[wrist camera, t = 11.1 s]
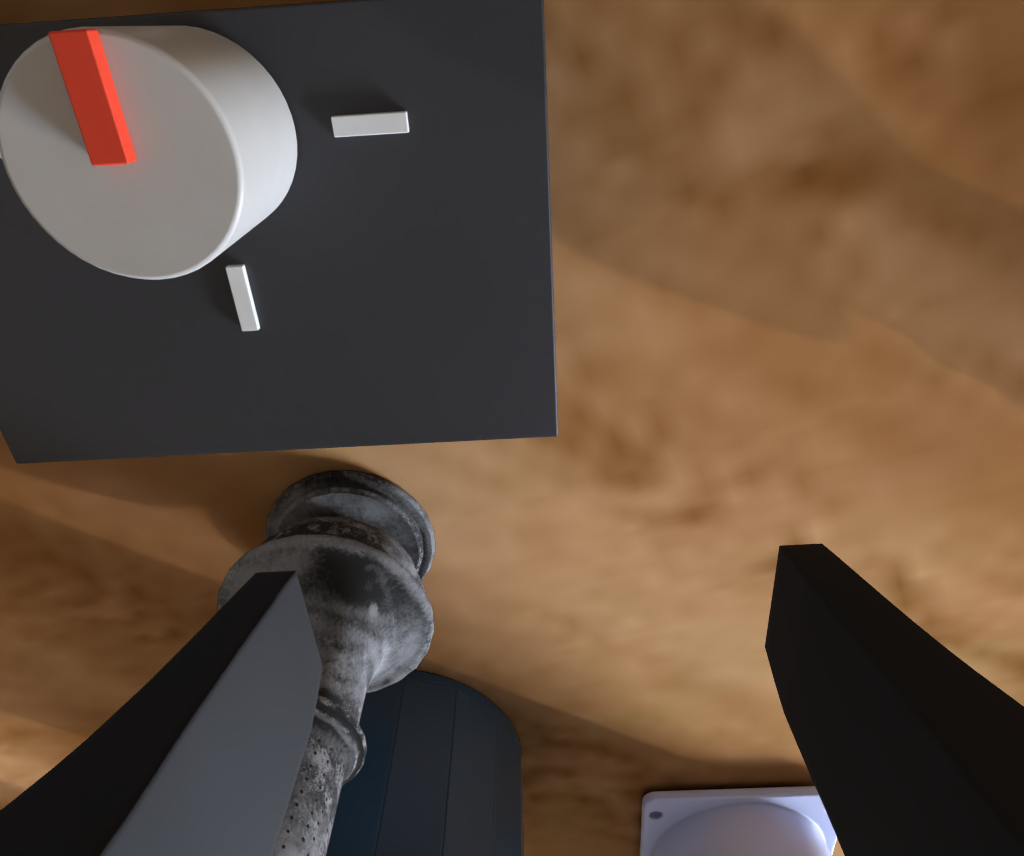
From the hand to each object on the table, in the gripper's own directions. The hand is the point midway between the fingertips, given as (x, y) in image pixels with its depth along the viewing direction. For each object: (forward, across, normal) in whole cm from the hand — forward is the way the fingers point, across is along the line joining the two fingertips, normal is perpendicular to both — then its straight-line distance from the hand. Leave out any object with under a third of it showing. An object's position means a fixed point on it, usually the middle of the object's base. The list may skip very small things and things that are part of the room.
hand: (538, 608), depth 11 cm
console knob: (+6, +6, -6) cm, 11 cm away
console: (+10, +6, -4) cm, 12 cm away
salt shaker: (+10, +6, +6) cm, 13 cm away
